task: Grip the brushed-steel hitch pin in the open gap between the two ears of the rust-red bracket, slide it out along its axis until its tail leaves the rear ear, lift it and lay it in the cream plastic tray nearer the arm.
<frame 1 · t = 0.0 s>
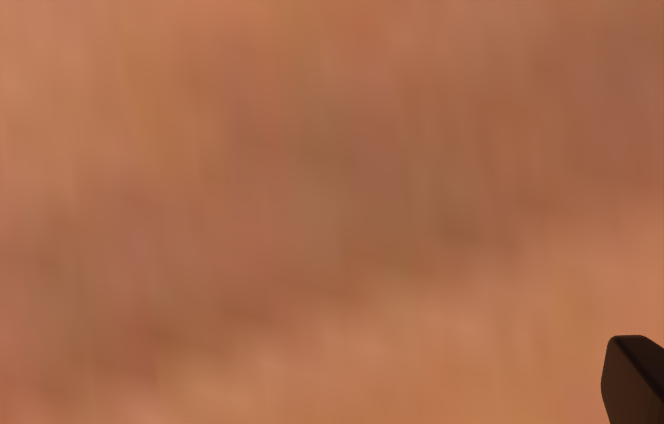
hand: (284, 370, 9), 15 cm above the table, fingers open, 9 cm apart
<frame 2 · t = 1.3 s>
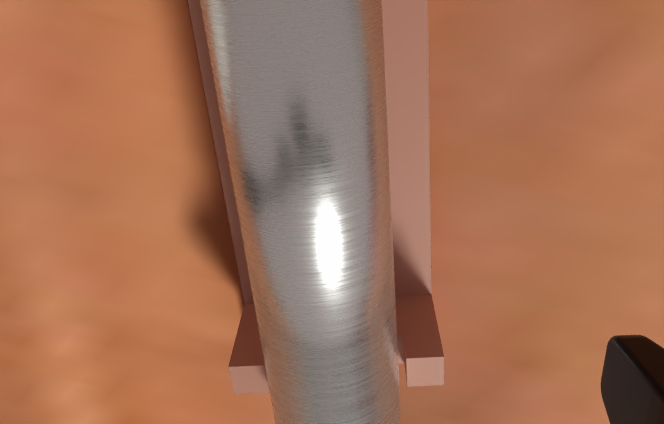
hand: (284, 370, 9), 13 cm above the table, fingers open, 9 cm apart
hitch bracket: (321, 117, 20), on the table
pin: (316, 157, 17), point 3 cm above the table, touching hitch bracket
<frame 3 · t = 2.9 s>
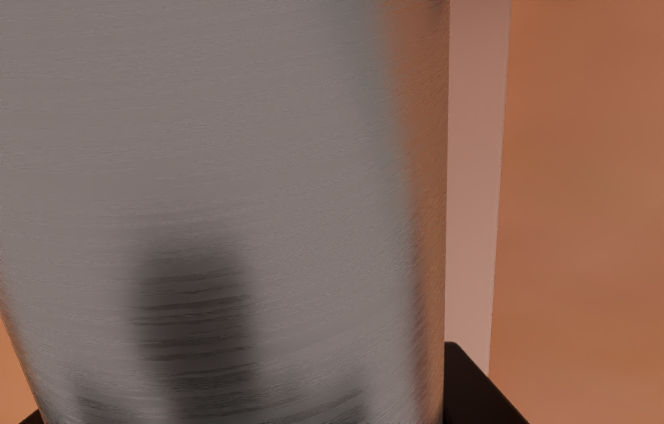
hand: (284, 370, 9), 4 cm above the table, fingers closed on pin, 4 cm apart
hitch bracket: (309, 274, 12), on the table
pin: (294, 399, 9), point 3 cm above the table, touching gripper, hitch bracket
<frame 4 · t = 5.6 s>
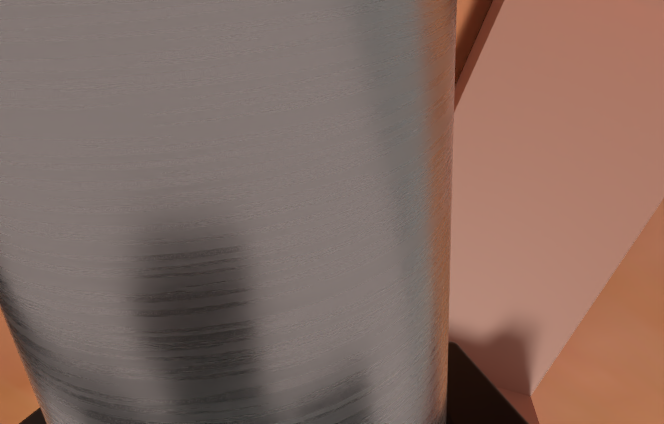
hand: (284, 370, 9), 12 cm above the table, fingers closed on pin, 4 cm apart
hitch bracket: (519, 200, 20), on the table
pin: (295, 385, 9), point 11 cm above the table, touching gripper
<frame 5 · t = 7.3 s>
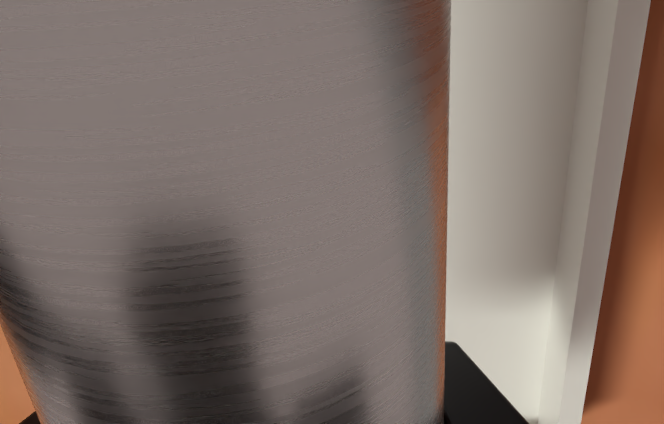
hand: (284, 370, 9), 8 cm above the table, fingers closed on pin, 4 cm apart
tray: (322, 156, 16), on the table
pin: (293, 383, 9), point 8 cm above the table, touching gripper
when the fingers open (3 cm above the table, at t = 8.5 s): pin drops 1 cm, resting on tray.
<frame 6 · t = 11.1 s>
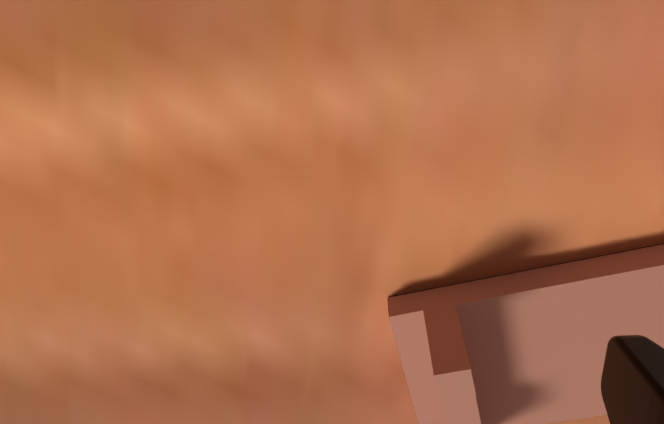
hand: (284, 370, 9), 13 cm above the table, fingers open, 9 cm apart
hitch bracket: (632, 323, 24), on the table
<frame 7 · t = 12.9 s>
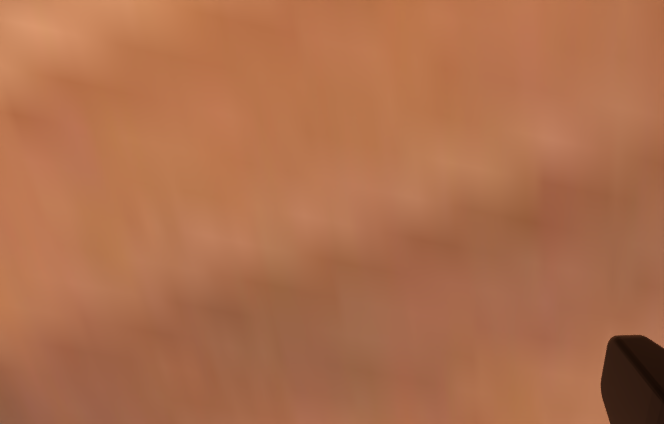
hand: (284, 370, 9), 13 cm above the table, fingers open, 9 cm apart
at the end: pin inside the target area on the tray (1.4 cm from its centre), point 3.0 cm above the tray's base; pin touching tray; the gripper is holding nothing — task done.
